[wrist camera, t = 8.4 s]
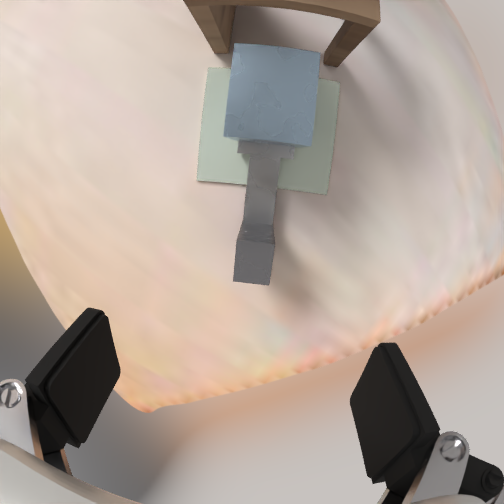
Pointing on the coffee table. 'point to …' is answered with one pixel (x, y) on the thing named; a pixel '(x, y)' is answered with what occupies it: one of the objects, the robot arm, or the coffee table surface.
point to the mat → (236, 164)
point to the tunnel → (326, 3)
